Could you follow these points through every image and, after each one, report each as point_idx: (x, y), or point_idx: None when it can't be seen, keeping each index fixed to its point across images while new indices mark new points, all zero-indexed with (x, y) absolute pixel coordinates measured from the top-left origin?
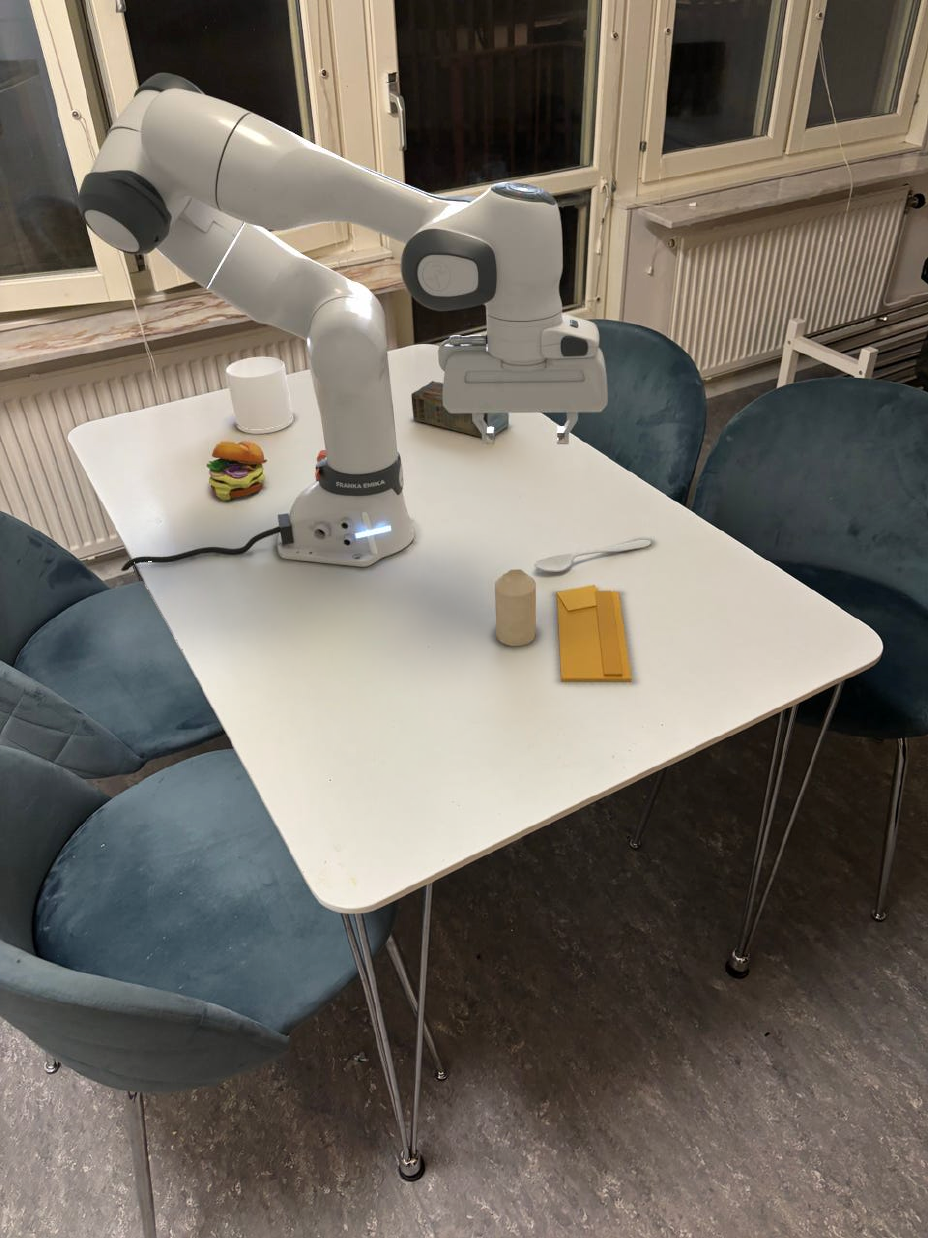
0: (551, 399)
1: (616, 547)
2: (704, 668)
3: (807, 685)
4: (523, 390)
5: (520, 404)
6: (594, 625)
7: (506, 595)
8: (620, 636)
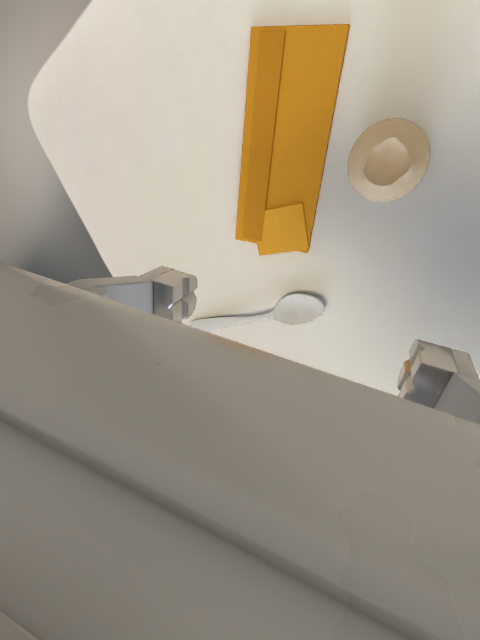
0: (77, 330)
1: (223, 322)
2: (166, 63)
3: (75, 26)
4: (189, 433)
5: (255, 374)
6: (275, 166)
7: (414, 124)
8: (248, 136)
